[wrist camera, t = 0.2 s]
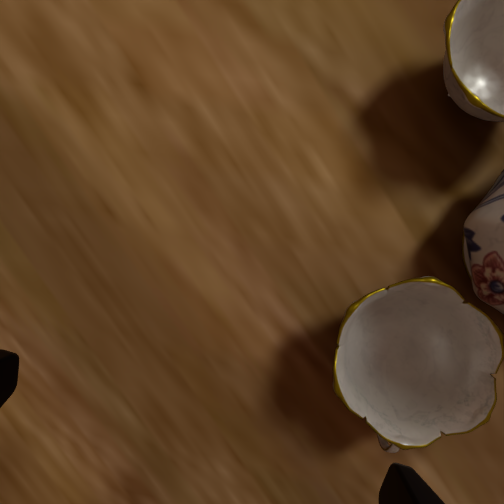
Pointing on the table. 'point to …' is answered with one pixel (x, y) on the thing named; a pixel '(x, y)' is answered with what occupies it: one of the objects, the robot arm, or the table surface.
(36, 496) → the table surface
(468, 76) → the chinaware
